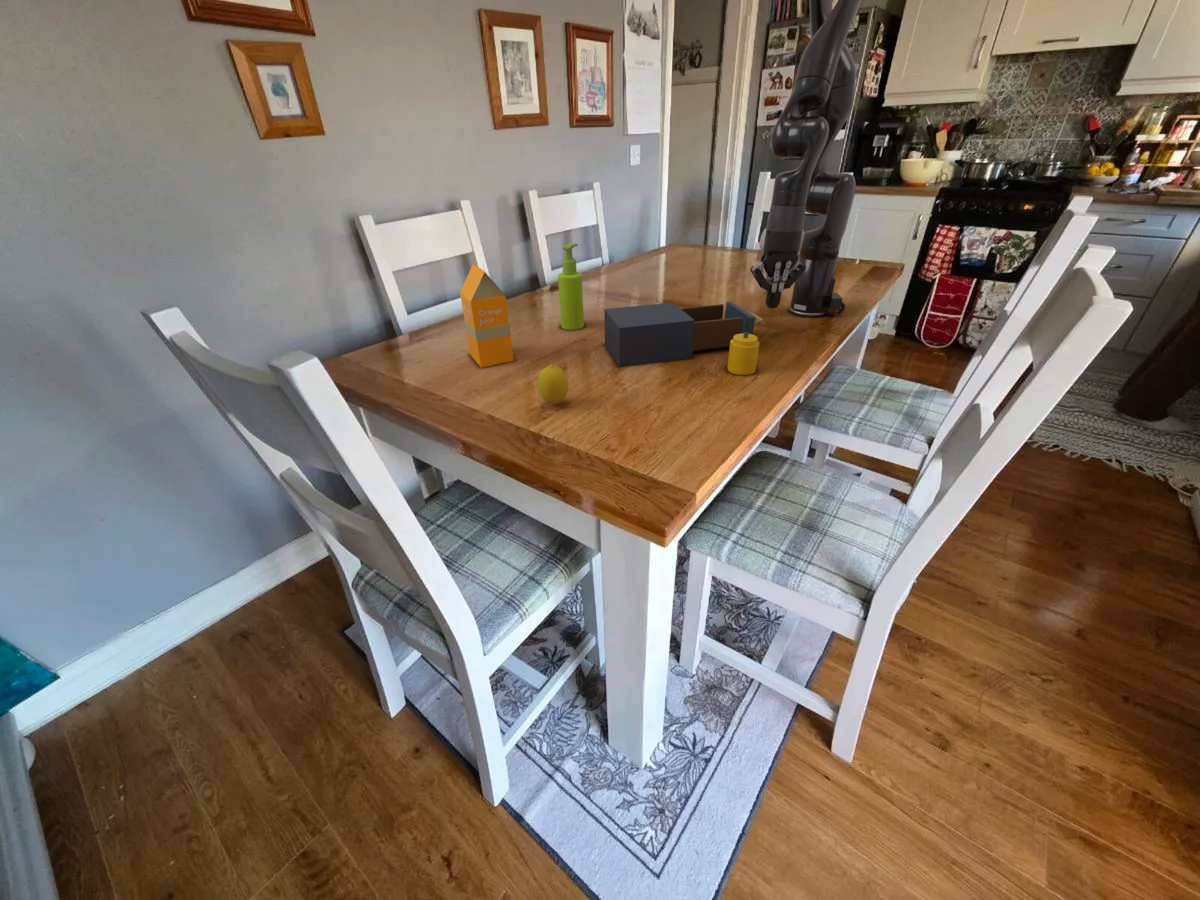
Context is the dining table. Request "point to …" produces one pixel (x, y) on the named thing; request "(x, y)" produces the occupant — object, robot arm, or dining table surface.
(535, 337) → the dining table surface
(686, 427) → the dining table surface
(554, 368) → the lemon
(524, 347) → the dining table surface
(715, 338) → the drawer
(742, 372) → the yellow cylinder
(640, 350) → the cabinet
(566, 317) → the soap dispenser
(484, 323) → the orange juice
